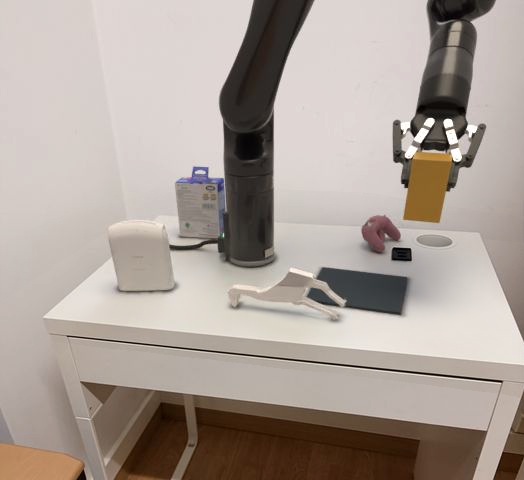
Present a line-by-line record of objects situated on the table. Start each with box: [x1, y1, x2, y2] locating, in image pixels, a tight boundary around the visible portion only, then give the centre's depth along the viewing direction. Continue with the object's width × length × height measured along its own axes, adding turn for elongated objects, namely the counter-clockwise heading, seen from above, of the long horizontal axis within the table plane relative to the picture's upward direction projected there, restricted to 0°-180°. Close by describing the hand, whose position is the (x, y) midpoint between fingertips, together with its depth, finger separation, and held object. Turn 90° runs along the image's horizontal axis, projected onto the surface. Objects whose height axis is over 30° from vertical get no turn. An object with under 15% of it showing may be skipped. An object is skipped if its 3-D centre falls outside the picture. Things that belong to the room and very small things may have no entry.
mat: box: [306, 266, 408, 316], centre depth 86 cm, size 16×14×1 cm
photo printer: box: [107, 219, 176, 292], centre depth 84 cm, size 10×4×12 cm, turn 90°
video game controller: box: [360, 214, 402, 253], centre depth 102 cm, size 10×5×7 cm, turn 144°
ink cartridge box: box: [174, 166, 226, 240], centre depth 106 cm, size 10×6×14 cm, turn 78°
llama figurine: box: [227, 267, 347, 321], centre depth 78 cm, size 2×11×18 cm
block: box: [402, 151, 452, 224], centre depth 73 cm, size 5×5×9 cm
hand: (427, 186), depth 72 cm, fingers closed on block, 5 cm apart
